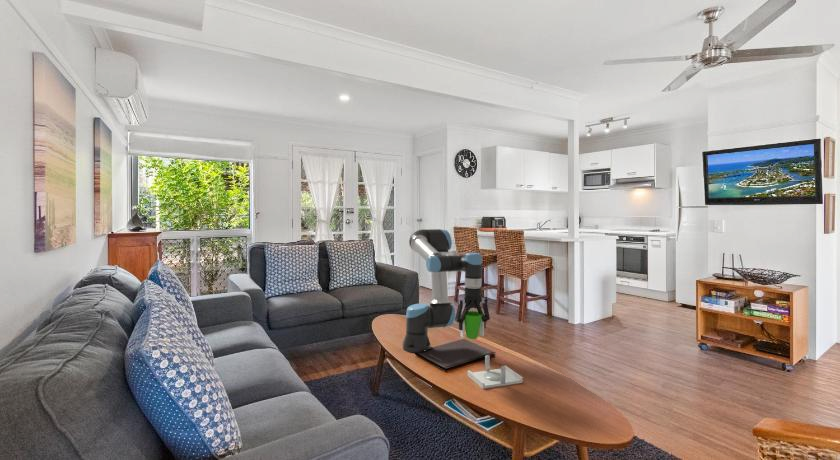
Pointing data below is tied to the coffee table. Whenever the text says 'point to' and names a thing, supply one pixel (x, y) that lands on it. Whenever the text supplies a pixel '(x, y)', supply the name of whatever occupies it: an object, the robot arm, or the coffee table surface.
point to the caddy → (495, 376)
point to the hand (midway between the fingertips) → (472, 336)
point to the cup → (472, 324)
